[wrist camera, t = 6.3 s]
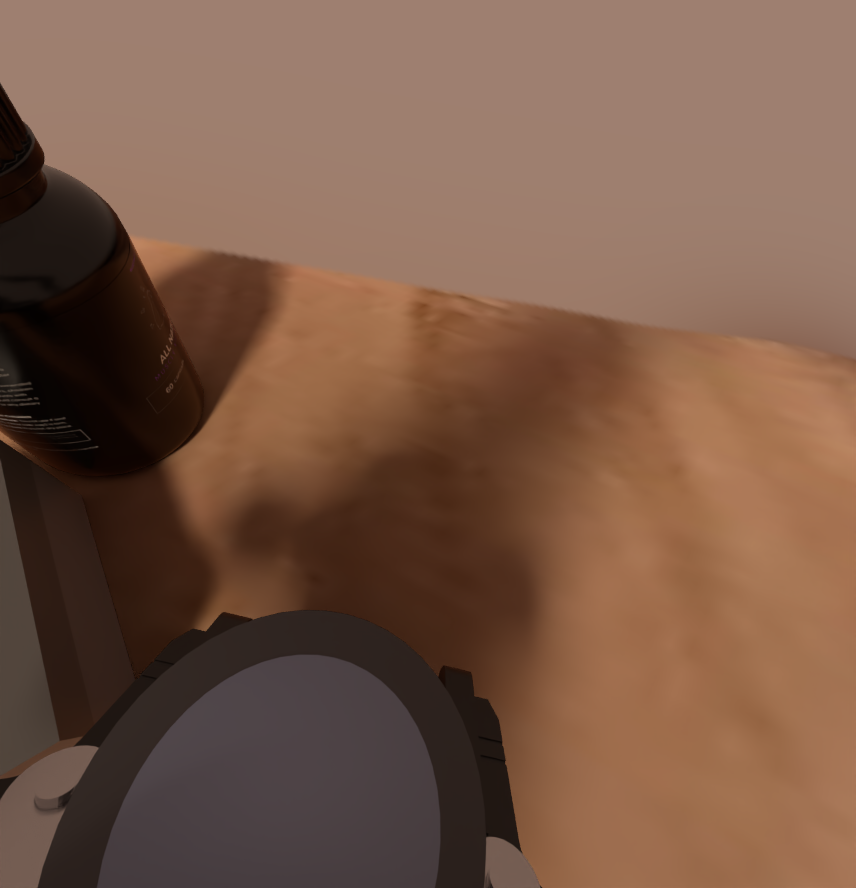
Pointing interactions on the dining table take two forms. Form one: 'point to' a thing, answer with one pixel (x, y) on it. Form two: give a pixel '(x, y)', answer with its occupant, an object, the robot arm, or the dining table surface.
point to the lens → (281, 771)
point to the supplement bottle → (81, 325)
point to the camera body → (51, 619)
